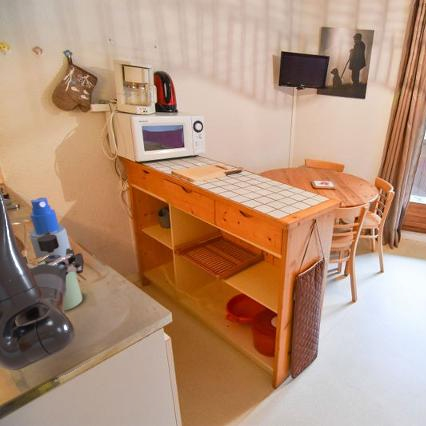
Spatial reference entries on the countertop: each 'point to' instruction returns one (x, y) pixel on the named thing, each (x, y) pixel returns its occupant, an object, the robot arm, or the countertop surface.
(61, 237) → the spray bottle
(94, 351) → the countertop surface
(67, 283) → the dispenser
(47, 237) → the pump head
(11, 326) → the robot arm
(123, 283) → the countertop surface
